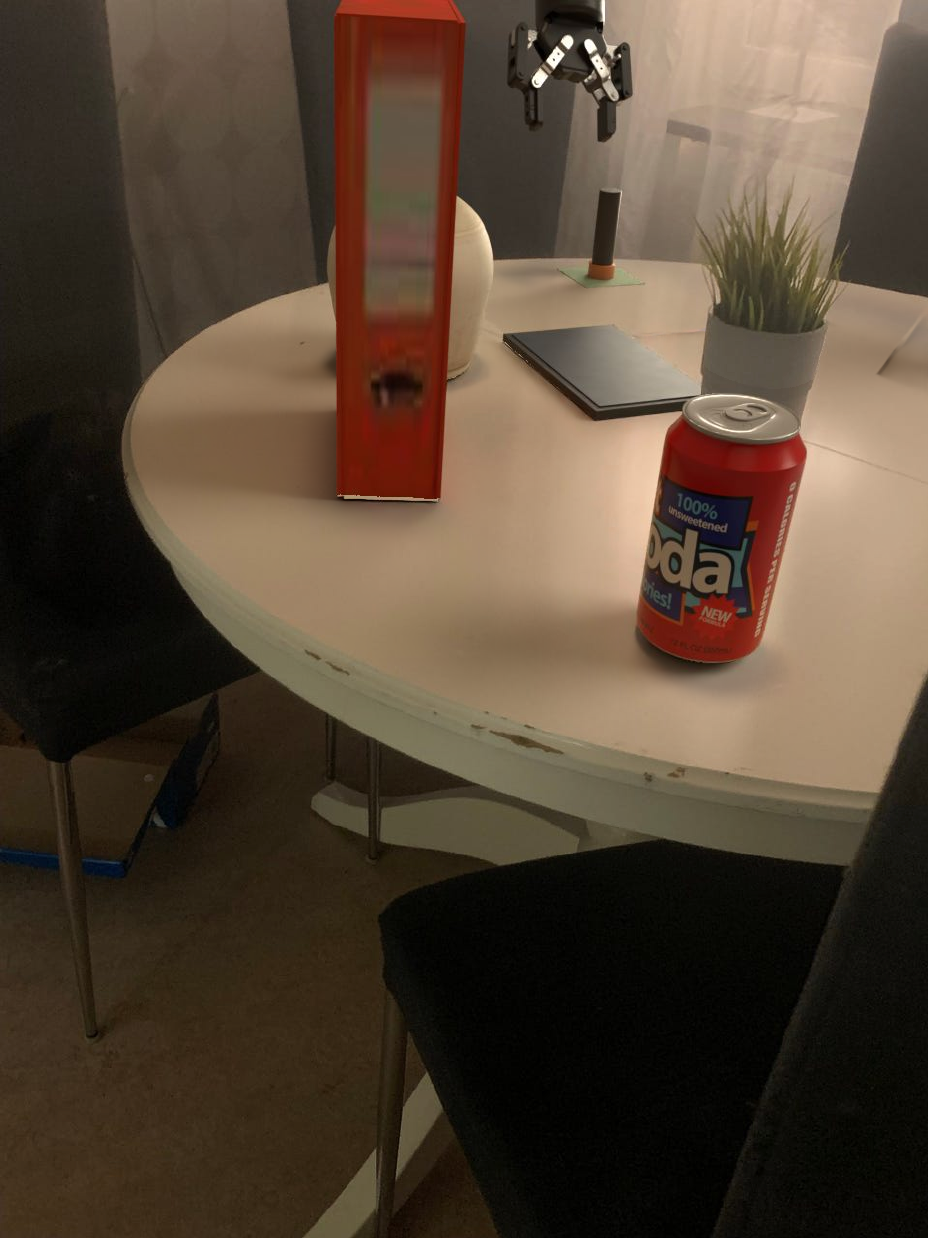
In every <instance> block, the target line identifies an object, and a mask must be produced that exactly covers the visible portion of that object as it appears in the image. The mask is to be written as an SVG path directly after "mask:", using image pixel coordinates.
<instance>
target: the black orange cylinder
mask: <svg viewBox="0 0 928 1238" xmlns="http://www.w3.org/2000/svg"><path fill="white" fill-rule="evenodd" d="M622 195H623V191H622V190H621V189H619V188H616V187H602V188H600V189H599V192H598V199H597V201H598V202H597V210H596V218H595V219H596V220H595V228H594V237H593V247H592V256H591V259H590V260H589V262H588V266H587V267H588V276H589V277H591V278H594V279H599V280H609V279H613V278H614V272H615V266H616V262H614V261H615V260H614V258H615V251H616V243H617V234H618V227H619V226H618V225H619V218H620V211H621V202H622Z"/></svg>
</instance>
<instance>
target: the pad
mask: <svg viewBox="0 0 928 1238" xmlns="http://www.w3.org/2000/svg"><path fill="white" fill-rule="evenodd" d="M588 267H589V266H581V267H568V268H565V267H564V268H557V270H558V271H559V272H561V273H562V274H564V275H565V276H567V277H568V278H570V279H571V280H573V281H574V282H576V283H577V284H579V285H580V286H582V287H583V288H586V289H595V288H608V287H622V286H624V287H625V286H636V285H646V283H645V282H643V281H641V280H640V279H638V278H637V277H635V276H633V275H631V274H630V273H628V272H626V271H625V270H623V269H622V268H620V267H618V266H617V265H615V272H614V278H613V279H609V280H599V279H594V278H591V277H589V276H588Z"/></svg>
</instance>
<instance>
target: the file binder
mask: <svg viewBox="0 0 928 1238" xmlns="http://www.w3.org/2000/svg"><path fill="white" fill-rule="evenodd" d="M466 25H467V22H466V21H465V19H464V17H463V15H462V13H461V12H460V11H459V8H458V7H457V6H456V4H455V2H454V1H453V0H341V1H340V3H339V5H338V7H337V9H336V11H335V13H334V15H333V47H334V48H333V49H334V51H333V55H334V56H333V59H334V60H333V61H334V62H333V63H334V64H333V65H334V67H333V69H334V70H333V71H334V75H333V76H334V80H333V81H334V212H335V213H334V218H335V219H334V220H335V223H334V227H335V246H336V320H335V371H336V372H335V378H336V379H335V381H336V382H335V383H336V384H335V385H336V388H335V389H336V390H335V391H336V393H335V394H336V395H335V397H336V399H335V400H336V401H335V404H336V409H335V410H336V496H337V495H340V494H341V495H356V496H357V495H360V496H377V497H379V496H380V497H413V498H424V499H437V498H441V497H442V478H443V463H444V462H443V460H444V443H445V423H446V405H447V387H448V385H447V383H448V381H447V369H448V350H449V331H450V312H451V293H452V275H453V256H454V237H455V218H456V199H457V196H458V195H457V194H458V181H459V158H460V143H461V142H460V139H461V124H462V106H463V105H462V102H463V86H464V85H463V83H464V68H465V67H464V65H465V48H466V29H467V28H466Z"/></svg>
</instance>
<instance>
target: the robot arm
mask: <svg viewBox="0 0 928 1238" xmlns="http://www.w3.org/2000/svg"><path fill="white" fill-rule="evenodd" d="M534 18H535V19H534V20H535V22H534V23H535V24H534V25H535V29H536V30H534V29H531V28H529V25H528V23H526V22H525V21H520V22H519V23H518V24H517V25H516V26H515V28H514V29H512V31H511V32H510V33H509V34H508V45H507V73H506V84H507V86H508V87H509V88H510V89H517V90H519V91H520V92H521V93H522V95H523V104H524V105H523V106H524V107H523V110H524V112H523V113H524V114H523V115H524V116H523V117H524V123H525V125H526V126H528V131H529V132H534V133H537V132H538V131H539V130H541V128H543V126H544V90H543V89H541V87H542V86H543V84H544V83H545V82H546V80H547V79H548V78H549V76H550V75H551V76H552V77H553V80H556V81H568V82H570V83H573V84H578V85H579V84H580V83H581V84H582V86H583V88H584V89H585V91H586V92H587V94H591V95H592V97H593V99H594V101H595V103H596V104H597V106H598V108H597V109H596V130H597V131H596V134H597V135H596V137H597V142H598V143H606V142H608V141H609V140H610V139H612V137H613V135H614V134H616V131H617V107H620V106H622V104H623V103H625V102H626V101H627V100H629V99H630V98H632V96H633V94H634V92H633V91H634V90H633V75H632V58H631V57H632V56H631V46H630V44H629V43H628V42H626V41H623V42H622V43H620V44H619V45H614V44H607V41H606V40H605V37H604V28H605V27H604V26H605V0H534ZM532 45H533V47H534V50H535V52H536V53H537V55H538V57H539V58H540V60H541V61H540V63H539V64H538V65H537V67H536V68H535V69H534V71H533V72H532V74H529V73H528V52H529V49H530V48H531V47H532ZM603 59H605V60H606V64H605V63H604V61H603ZM609 69H610V71H609ZM593 74H595V75H596V78H594V77H593V76H592V75H593Z"/></svg>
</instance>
